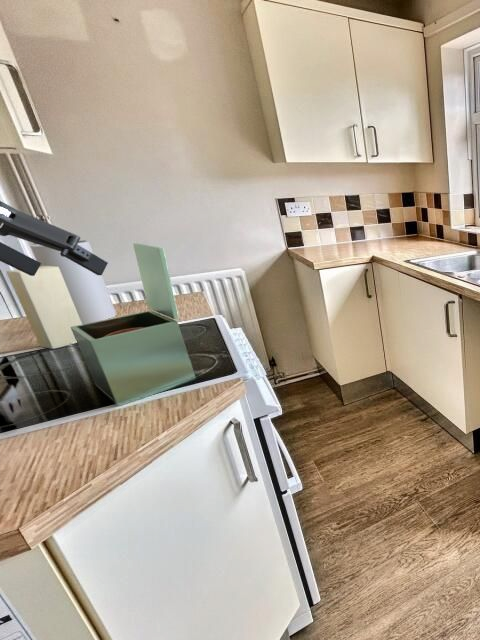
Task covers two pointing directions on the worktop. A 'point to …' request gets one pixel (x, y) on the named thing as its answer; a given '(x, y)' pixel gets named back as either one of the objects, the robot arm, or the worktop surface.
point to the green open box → (135, 355)
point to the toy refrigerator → (46, 305)
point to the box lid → (156, 279)
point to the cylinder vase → (80, 284)
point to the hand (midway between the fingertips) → (69, 269)
